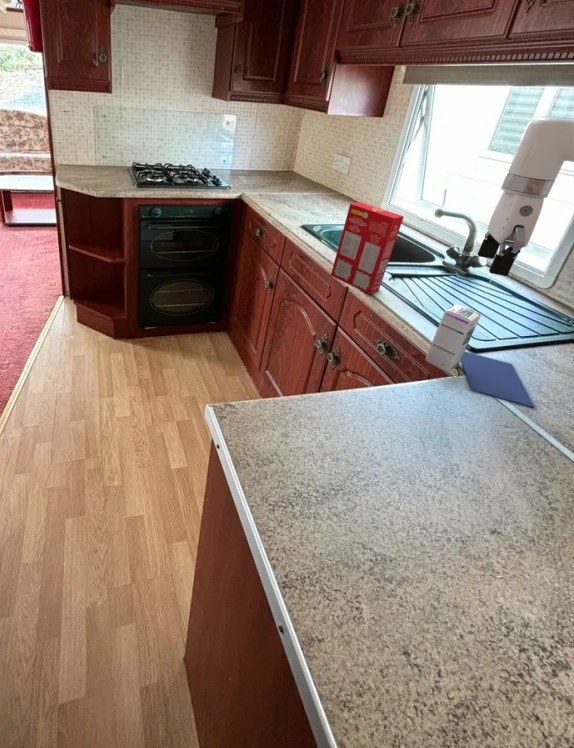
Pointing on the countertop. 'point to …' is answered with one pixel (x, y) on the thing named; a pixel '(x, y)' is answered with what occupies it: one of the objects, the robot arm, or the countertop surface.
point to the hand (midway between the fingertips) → (491, 265)
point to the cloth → (494, 378)
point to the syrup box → (452, 337)
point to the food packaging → (366, 246)
